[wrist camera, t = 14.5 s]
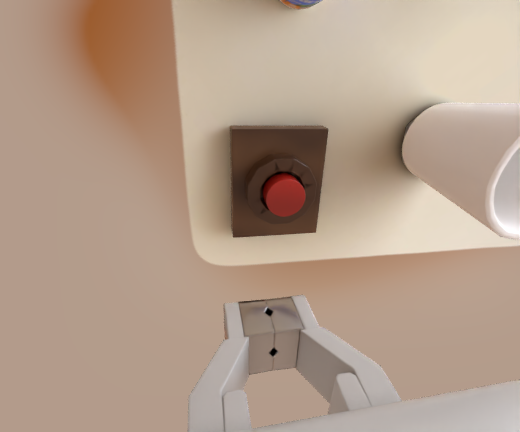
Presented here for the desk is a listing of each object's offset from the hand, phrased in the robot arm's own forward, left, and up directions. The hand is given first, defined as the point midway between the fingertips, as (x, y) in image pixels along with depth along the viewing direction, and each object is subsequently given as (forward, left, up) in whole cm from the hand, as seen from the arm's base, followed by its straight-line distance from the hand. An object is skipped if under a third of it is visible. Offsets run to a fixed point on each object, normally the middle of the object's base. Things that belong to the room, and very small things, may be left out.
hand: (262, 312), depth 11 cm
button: (+5, +2, -18) cm, 18 cm away
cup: (+15, +16, -21) cm, 30 cm away
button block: (+5, +2, -21) cm, 21 cm away
